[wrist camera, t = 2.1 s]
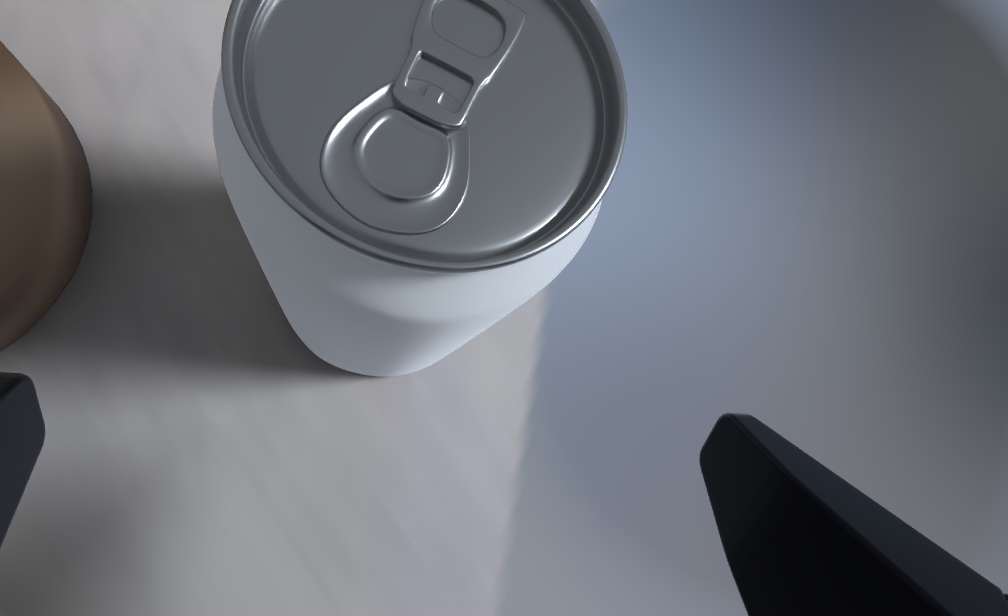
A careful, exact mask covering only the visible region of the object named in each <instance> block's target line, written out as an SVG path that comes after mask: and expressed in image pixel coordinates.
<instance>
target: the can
mask: <svg viewBox="0 0 1008 616" xmlns="http://www.w3.org/2000/svg"><path fill="white" fill-rule="evenodd" d="M626 130H627V94H626V87H625V81H624V75H623V71H622V67H621V64H620V60H619V57H618V54H617V51H616V49H615V46H614V43H613V41H612V38H611V36H610V34H609V32H608V30H607V28H606V26H605V24H604V22H603V20H602V19H601V17H600V15H599V13H598V12H597V10H596V9H595V7H594V6H593V4H592V3H591V1H590V0H232V2H231V5H230V8H229V11H228V14H227V18H226V22H225V27H224V32H223V40H222V52H221V68H220V71H219V75H218V79H217V83H216V88H215V93H214V102H213V133H214V142H215V148H216V154H217V159H218V164H219V168H220V172H221V175H222V179H223V182H224V184H225V187H226V190H227V193H228V195H229V198H230V200H231V203H232V205H233V208H234V210H235V212H236V215H237V217H238V219H239V221H240V223H241V226H242V228H243V230H244V232H245V234H246V236H247V238H248V241H249V243H250V245H251V247H252V249H253V251H254V253H255V255H256V257H257V259H258V262H259V264H260V266H261V268H262V270H263V272H264V274H265V276H266V278H267V280H268V282H269V284H270V286H271V288H272V290H273V292H274V294H275V296H276V298H277V300H278V302H279V304H280V306H281V308H282V310H283V312H284V314H285V316H286V318H287V319H288V321H289V323H290V325H291V326H292V328H293V329H294V331H295V332H296V334H297V335H298V336H299V338H300V339H301V340H302V341H303V342H304V344H305V345H306V346H307V347H308V348H309V349H310V350H311V351H312V352H313V353H314V354H316V355H317V356H318V357H320V358H321V359H323V360H324V361H326V362H328V363H330V364H332V365H334V366H336V367H338V368H341V369H344V370H347V371H350V372H354V373H358V374H363V375H369V376H379V377H390V376H399V375H404V374H409V373H412V372H415V371H418V370H421V369H423V368H426V367H428V366H430V365H432V364H434V363H435V362H437V361H439V360H440V359H442V358H444V357H445V356H447V355H448V354H450V353H451V352H453V351H455V350H456V349H458V348H459V347H461V346H462V345H464V344H465V343H467V342H468V341H470V340H471V339H472V338H474V337H475V336H477V335H478V334H480V333H481V332H483V331H484V330H486V329H487V328H489V327H490V326H492V325H493V324H494V323H496V322H497V321H499V320H500V319H502V318H503V317H505V316H506V315H507V314H509V313H510V312H512V311H513V310H515V309H516V308H517V307H519V306H520V305H522V304H523V303H524V302H526V301H527V300H529V299H530V298H531V297H532V296H534V295H535V294H536V293H538V292H539V291H540V290H541V289H543V288H544V287H545V286H546V285H547V284H549V283H550V282H551V281H552V280H553V279H554V278H555V277H556V276H557V275H558V274H559V273H560V272H561V271H562V270H563V269H564V268H565V266H566V265H567V264H568V263H569V262H570V261H571V259H572V258H573V257H574V256H575V254H576V253H577V251H578V250H579V249H580V247H581V246H582V244H583V243H584V241H585V240H586V238H587V236H588V234H589V232H590V231H591V229H592V226H593V224H594V222H595V220H596V217H597V214H598V212H599V209H600V206H601V202H602V198H603V196H604V195H605V193H606V191H607V190H608V188H609V186H610V184H611V182H612V180H613V178H614V176H615V173H616V171H617V168H618V166H619V162H620V159H621V156H622V152H623V148H624V143H625V137H626Z"/></svg>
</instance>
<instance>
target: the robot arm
mask: <svg viewBox="0 0 1008 616" xmlns="http://www.w3.org/2000/svg"><path fill="white" fill-rule="evenodd" d="M44 439H45V424H44V420H43V416H42V413H41V409H40V405H39V402H38V398H37V394H36V391H35V387H34V384H33V382H32V380H31V379H30V378H29V377H28V376H27V375H24V374H20V373H3V372H0V547H1V545H2V543H3V540H4V538H5V535H6V533H7V531H8V528H9V526H10V523H11V521H12V519H13V516H14V514H15V511H16V509H17V507H18V504H19V502H20V499H21V497H22V494H23V492H24V490H25V487H26V485H27V482H28V480H29V478H30V475H31V473H32V470H33V468H34V466H35V463H36V461H37V458H38V456H39V454H40V451H41V449H42V446H43V443H44ZM700 467H701V471H702V474H703V478H704V481H705V485H706V488H707V492H708V496H709V499H710V503H711V506H712V509H713V513H714V517H715V520H716V524H717V527H718V531H719V534H720V538H721V542H722V545H723V548H724V551H725V554H726V558H727V561H728V563H729V566H730V569H731V572H732V575H733V577H734V580H735V583H736V585H737V587H738V590H739V593H740V595H741V598H742V600H743V603H744V605H745V608H746V611H747V613H748V616H1008V594H1003V593H1002V591H1001V589H1000V588H998V587H997V586H995V585H994V584H992V583H991V582H990V581H988V580H987V579H985V578H984V577H983V576H981V575H980V574H978V573H977V572H975V571H974V570H973V569H971V568H970V567H968V566H967V565H965V564H964V563H962V562H961V561H960V560H958V559H957V558H955V557H954V556H952V555H951V554H950V553H948V552H947V551H945V550H944V549H942V548H941V547H940V546H938V545H937V544H935V543H934V542H932V541H931V540H929V539H928V538H927V537H925V536H924V535H922V534H921V533H919V532H918V531H917V530H915V529H914V528H912V527H911V526H909V525H908V524H906V523H905V522H904V521H902V520H901V519H899V518H898V517H896V516H895V515H894V514H892V513H891V512H889V511H888V510H887V509H885V508H884V507H882V506H881V505H879V504H878V503H877V502H875V501H874V500H872V499H871V498H869V497H868V496H866V495H865V494H864V493H862V492H861V491H859V490H858V489H856V488H855V487H854V486H852V485H851V484H849V483H848V482H846V481H845V480H844V479H842V478H840V477H839V476H838V475H836V474H835V473H833V472H832V471H831V470H829V469H828V468H826V467H825V466H824V465H822V464H821V463H819V462H818V461H816V460H815V459H814V458H812V457H811V456H809V455H808V454H806V453H804V451H802V450H800V449H799V448H798V447H796V446H795V445H793V444H792V443H791V442H789V441H788V440H786V439H785V438H783V437H782V436H781V435H779V434H778V433H776V432H775V431H773V430H772V429H771V428H769V427H768V426H766V425H765V424H763V423H762V422H761V421H759V420H758V419H756V418H755V417H753V416H751V415H748V414H738V413H726V414H723V415H722V416H721V417H719V419H718V420H717V422H716V424H715V426H714V427H713V429H712V431H711V433H710V435H709V436H708V438H707V440H706V442H705V443H704V445H703V447H702V449H701V452H700Z"/></svg>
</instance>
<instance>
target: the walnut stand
mask: <svg viewBox="0 0 1008 616" xmlns="http://www.w3.org/2000/svg"><path fill="white" fill-rule="evenodd" d="M91 216H92V186H91V178H90V171H89V167H88V164H87V160H86V157H85V154H84V151H83V147H82V145H81V143H80V141H79V139H78V137H77V135H76V133H75V131H74V129H73V127H72V125H71V124H70V122H69V121H68V119H67V118H66V117H65V115H64V114H63V112H62V111H61V109H60V108H59V107H58V105H57V104H56V103H55V102H54V101H53V100H52V99H51V97H50V96H49V95H48V94H47V93H46V92H45V91H44V89H43V88H42V87H41V86H40V85H39V84H38V83H37V81H36V80H35V79H34V78H33V77H32V76H31V75H30V73H29V72H28V71H27V70H26V69H25V68H24V67H23V65H22V64H21V63H20V62H19V61H18V60H17V59H16V58H15V56H14V55H13V54H12V53H11V52H10V51H9V50H8V49H7V48H6V47H5V45H4V44H3V43H2V42H1V41H0V351H2V350H3V349H5V348H6V347H8V346H9V345H10V344H12V343H13V342H14V341H15V340H17V339H18V338H19V337H20V336H21V335H22V334H24V333H25V332H26V331H27V330H28V329H29V328H31V327H32V326H33V325H34V324H35V323H36V322H37V321H38V320H39V319H40V318H41V316H42V315H43V314H44V313H45V312H46V311H47V310H48V309H49V308H50V307H51V306H52V304H53V303H54V302H55V300H56V299H57V298H58V296H59V295H60V293H61V292H62V290H63V289H64V288H65V286H66V285H67V283H68V282H69V280H70V278H71V276H72V274H73V272H74V270H75V268H76V266H77V264H78V262H79V261H80V258H81V255H82V252H83V249H84V246H85V243H86V241H87V238H88V233H89V227H90V221H91Z"/></svg>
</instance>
